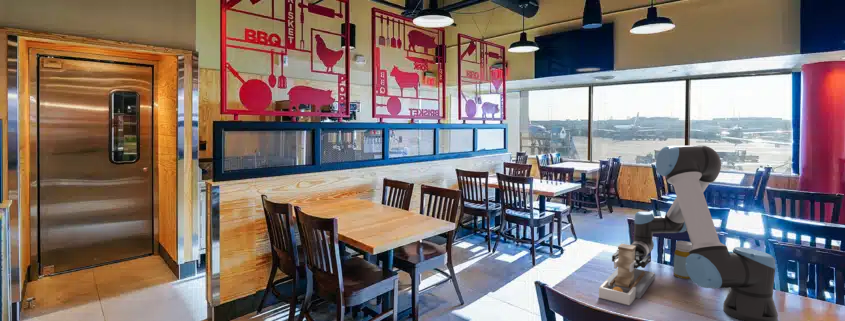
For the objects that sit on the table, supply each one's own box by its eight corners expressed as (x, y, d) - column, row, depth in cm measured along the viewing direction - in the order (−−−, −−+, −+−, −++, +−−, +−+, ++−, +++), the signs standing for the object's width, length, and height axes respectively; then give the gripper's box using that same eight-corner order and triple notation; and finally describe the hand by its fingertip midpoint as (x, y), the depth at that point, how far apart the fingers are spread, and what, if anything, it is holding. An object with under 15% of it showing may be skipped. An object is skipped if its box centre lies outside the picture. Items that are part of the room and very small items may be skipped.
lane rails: (644, 274, 179) (644, 271, 178) (632, 290, 163) (632, 287, 162) (624, 270, 184) (624, 267, 184) (609, 285, 168) (609, 282, 168)
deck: (654, 278, 181) (654, 272, 181) (639, 298, 161) (640, 292, 161) (620, 270, 190) (620, 265, 189) (602, 289, 170) (602, 283, 170)
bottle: (669, 274, 184) (671, 241, 183) (680, 272, 187) (681, 239, 186) (685, 280, 178) (687, 246, 176) (695, 277, 181) (697, 244, 179)
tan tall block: (634, 281, 171) (636, 245, 169) (629, 288, 165) (630, 251, 163) (620, 278, 174) (621, 243, 173) (614, 284, 168) (616, 248, 166)
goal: (635, 298, 162) (636, 287, 161) (629, 306, 155) (629, 294, 154) (605, 290, 169) (606, 280, 168) (598, 298, 162) (599, 287, 161)
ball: (620, 298, 159) (623, 298, 162) (622, 287, 159) (624, 288, 162) (609, 295, 161) (612, 296, 164) (611, 285, 162) (614, 285, 165)
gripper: (660, 264, 178) (647, 281, 160) (615, 255, 190) (598, 270, 172) (661, 247, 177) (648, 262, 159) (615, 239, 189) (599, 253, 171)
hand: (622, 266), depth 166 cm, fingers closed on tan tall block, 5 cm apart
